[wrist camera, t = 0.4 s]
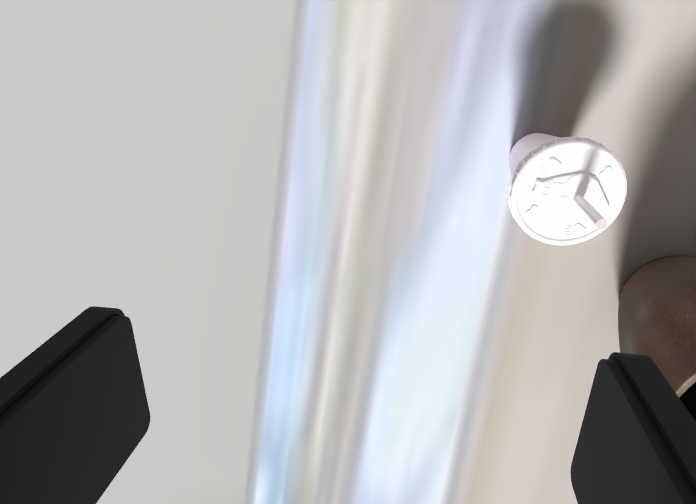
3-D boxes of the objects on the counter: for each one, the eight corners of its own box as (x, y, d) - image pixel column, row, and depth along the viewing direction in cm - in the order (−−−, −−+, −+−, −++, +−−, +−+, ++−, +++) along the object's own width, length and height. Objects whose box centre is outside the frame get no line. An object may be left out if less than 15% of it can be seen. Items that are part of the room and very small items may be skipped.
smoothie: (558, 207, 38) (623, 293, 25) (478, 185, 38) (503, 259, 26) (595, 127, 35) (689, 178, 23) (509, 103, 35) (554, 141, 23)
